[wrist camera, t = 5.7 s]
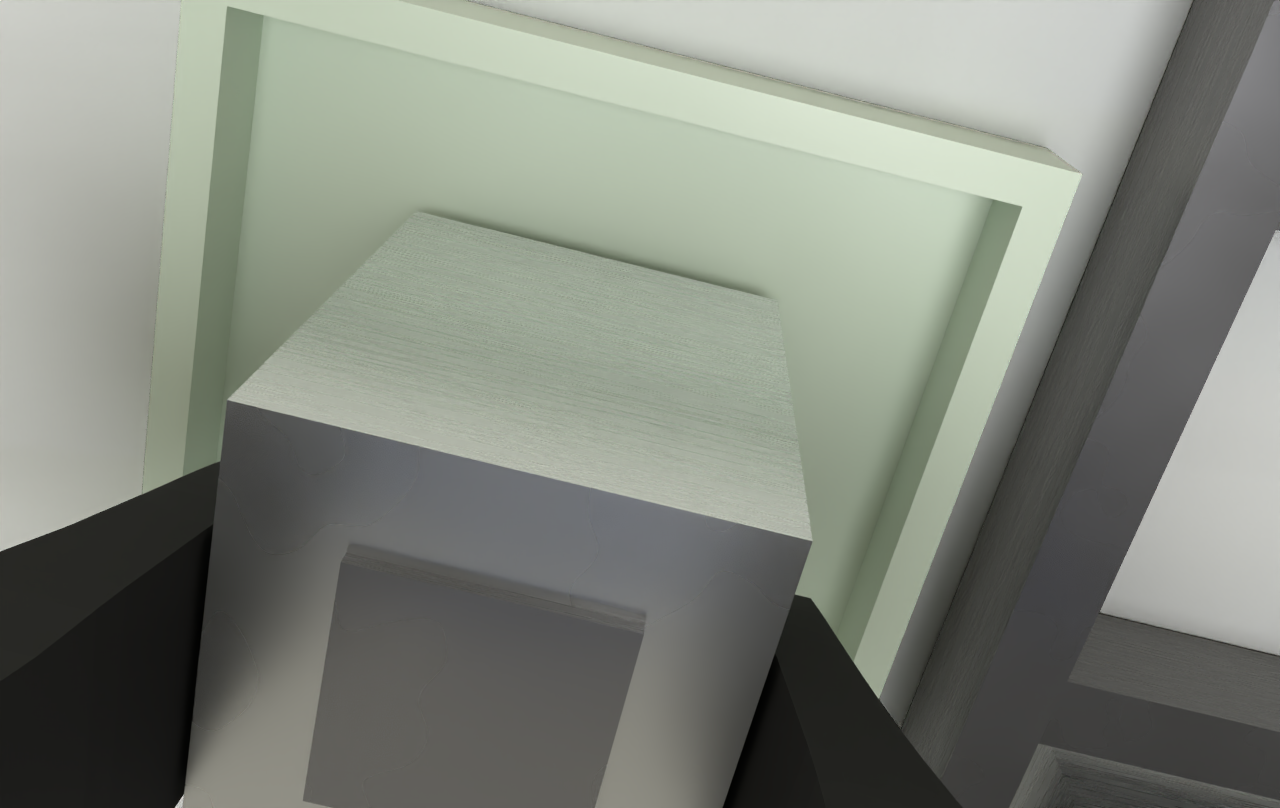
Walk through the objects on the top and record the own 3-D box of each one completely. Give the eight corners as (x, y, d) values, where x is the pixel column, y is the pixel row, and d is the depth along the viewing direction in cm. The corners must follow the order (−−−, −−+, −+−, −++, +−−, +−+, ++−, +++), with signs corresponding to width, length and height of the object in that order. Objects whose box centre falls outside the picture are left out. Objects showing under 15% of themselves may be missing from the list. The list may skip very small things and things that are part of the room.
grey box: (686, 606, 16) (669, 979, 11) (363, 529, 16) (170, 866, 10) (777, 300, 15) (815, 550, 9) (416, 211, 14) (218, 408, 9)
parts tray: (811, 782, 18) (818, 853, 17) (171, 633, 18) (125, 693, 17) (1048, 148, 14) (1082, 174, 13) (237, -58, 14) (185, -54, 13)
